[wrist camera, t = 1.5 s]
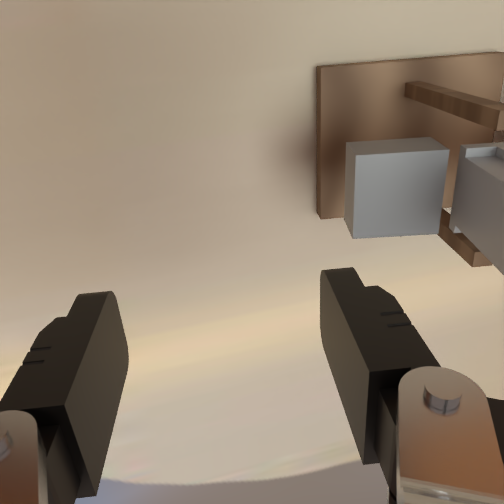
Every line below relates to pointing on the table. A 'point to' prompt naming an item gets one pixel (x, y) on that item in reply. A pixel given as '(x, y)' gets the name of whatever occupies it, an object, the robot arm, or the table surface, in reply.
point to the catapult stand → (407, 119)
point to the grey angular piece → (425, 191)
